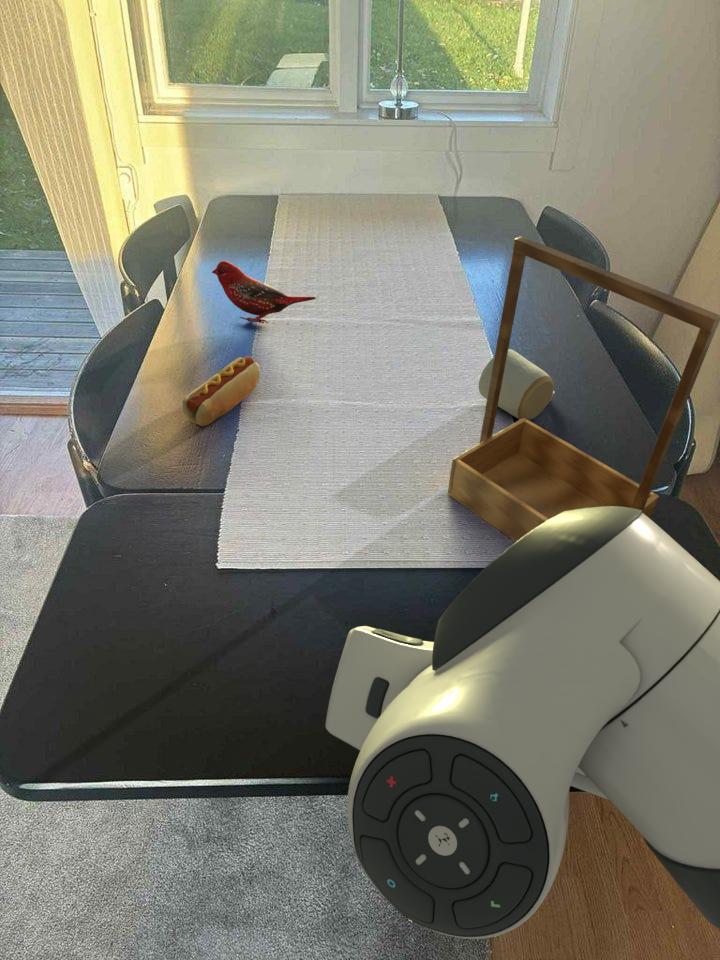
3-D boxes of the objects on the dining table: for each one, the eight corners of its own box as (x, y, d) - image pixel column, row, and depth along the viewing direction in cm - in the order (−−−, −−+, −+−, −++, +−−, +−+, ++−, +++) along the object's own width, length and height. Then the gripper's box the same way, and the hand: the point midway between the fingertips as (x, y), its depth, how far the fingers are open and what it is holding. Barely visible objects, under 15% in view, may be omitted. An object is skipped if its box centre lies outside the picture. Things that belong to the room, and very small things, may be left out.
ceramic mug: (517, 431, 95) (528, 383, 90) (473, 403, 100) (481, 357, 95) (565, 405, 101) (578, 358, 96) (522, 380, 105) (532, 334, 100)
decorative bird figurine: (220, 312, 119) (213, 255, 112) (319, 328, 115) (318, 271, 109) (213, 320, 117) (206, 262, 110) (314, 336, 113) (312, 278, 107)
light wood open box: (645, 530, 81) (659, 496, 78) (577, 586, 75) (590, 551, 71) (516, 451, 92) (523, 417, 89) (447, 493, 85) (452, 459, 82)
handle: (623, 560, 78) (722, 315, 58) (617, 565, 77) (715, 319, 58) (480, 465, 90) (521, 236, 70) (474, 469, 89) (514, 238, 69)
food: (237, 376, 104) (234, 346, 101) (268, 386, 102) (266, 357, 99) (176, 424, 95) (171, 393, 91) (209, 437, 93) (204, 406, 89)
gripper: (691, 741, 36) (649, 692, 50) (329, 617, 42) (379, 603, 55) (659, 860, 36) (626, 778, 49) (299, 720, 41) (357, 681, 55)
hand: (494, 685), depth 52 cm, fingers open, 8 cm apart
